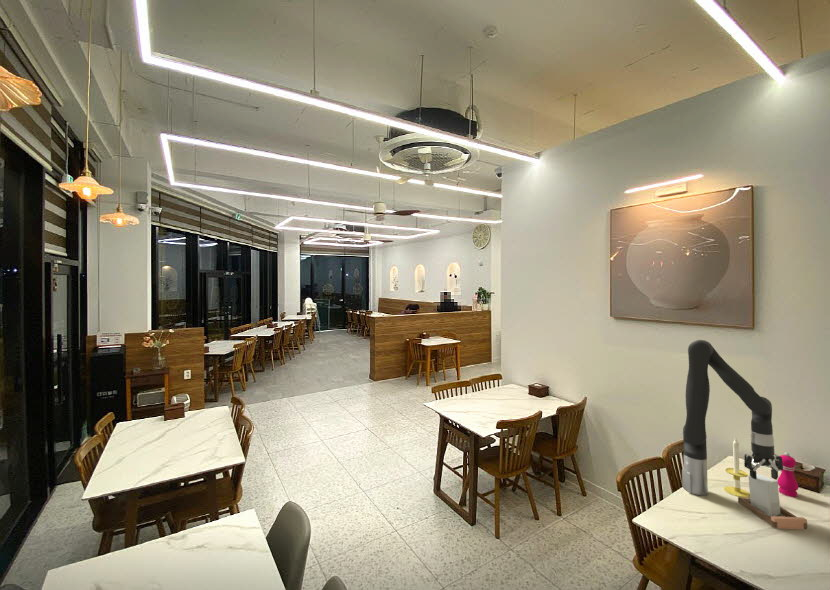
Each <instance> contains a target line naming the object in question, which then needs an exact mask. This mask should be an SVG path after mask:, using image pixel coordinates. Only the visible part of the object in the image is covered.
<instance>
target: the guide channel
mask: <svg viewBox="0 0 830 590" xmlns="http://www.w3.org/2000/svg"><path fill="white" fill-rule="evenodd" d="M737 503H738V504H740V505H741V506H742V507H744V508H746V509H747V510H748V511H750V512H751V513H752V514H754V515H755V516H756V517H758V518H760V519H761V520H763V522H765V523H767V524H768V525H769V526H770V527H772V528H773V529H779V528H778V525H777V522H776V523H774V522H773V521H772V520H771V516H768V515H766V514H765V513H763V512H762V511H760V510H759V509H757V508H756V507H754V506H753V505H752V504H751V501H750V497H738V496H737ZM780 516H782V517H797V516H796V515H795V514H793V513H791V512H790V511H788V510H786V509H785V508H783V507H782V506H780ZM804 524H805V525H807V526H805V525H804V526H805V527H806V528H805V527H804V529H803V530H807V529H808V522H807V523H804ZM775 525H776V526H775ZM774 526H775V527H776V528H775V527H774Z"/></svg>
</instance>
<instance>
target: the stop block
mask: <svg viewBox="0 0 830 590" xmlns="http://www.w3.org/2000/svg"><path fill="white" fill-rule="evenodd" d="M770 517H771V520H772V521H773V522H774V523H776V522H777V525H778V528H776V527H775V526H776V525H775V526H774V527H775V528H774V527H773V528H774V529H789V530H790V529H791V530H805V529H804V527H805V526H807V527H808V519H807V518H805V517H803V516H802V517H799V516H798V517H797V516H796V517H784V516H770ZM804 523H807V525H805V524H804ZM804 525H805V526H804ZM805 528H806V527H805Z"/></svg>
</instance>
